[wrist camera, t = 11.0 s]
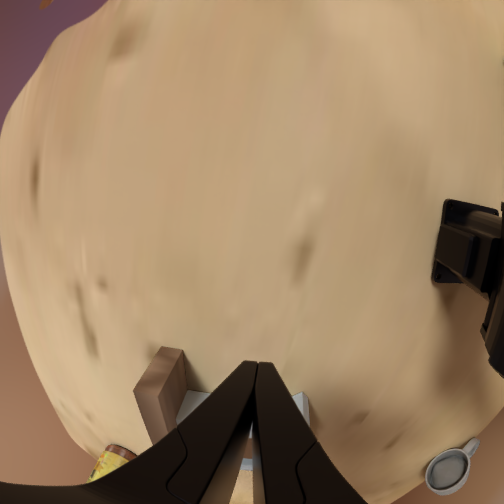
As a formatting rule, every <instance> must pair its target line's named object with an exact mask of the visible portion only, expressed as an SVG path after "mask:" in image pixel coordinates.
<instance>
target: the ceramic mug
mask: <svg viewBox="0 0 504 504" xmlns="http://www.w3.org/2000/svg"><path fill="white" fill-rule="evenodd" d="M479 444H480V440H479V439H477V438H472V439H471V440H470V441H469V442H468V443H467V444H466V445H465V447H464V448H463V449H457V448H454V449H449V450H446V451H444V452H442V453H440V454H439V455H437V456H436V457H435V458H434V459H433V460H432V461H431V462H430V464H429V466H428V467H427V470H426V473H425V481H426V484H427V486H428V488H429V489H431V490H432V491H433V492H435V493H436V494H439V495H448V494H451V493H454V492H455V491H457V490H458V489H460V488H461V487H462V486H463V485H464V483H465V482H466V480H467V478H468V475H469V470H470V458H471V457H472V456H473V454H474V453H475V451H476V450H477V448H478V446H479Z"/></svg>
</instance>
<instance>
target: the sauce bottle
mask: <svg viewBox="0 0 504 504" xmlns="http://www.w3.org/2000/svg"><path fill="white" fill-rule="evenodd" d="M135 457H137V456H135V455H134V454H133V453H132V452H130V451H128V450H127V449H124V448H122V447H120V446H117V445H108V446H107V447H106V449H105V451H103V453H102V455H101V456H100V458H99V460H98V462H97V464H96V466H95V468H94V469H93V471H92V473H91V475H90V477H89V479H88V480H87V482H86V483H89V482H91V481H94V480H96V479H99V478H101V477H102V476H104V475H106V474H108V473H110V472H111V471H113V470H115V469H117V468H118V467H120V466H122V465H124V464H125V463H127V462H129V461H130V460H132V459H134V458H135Z"/></svg>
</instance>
